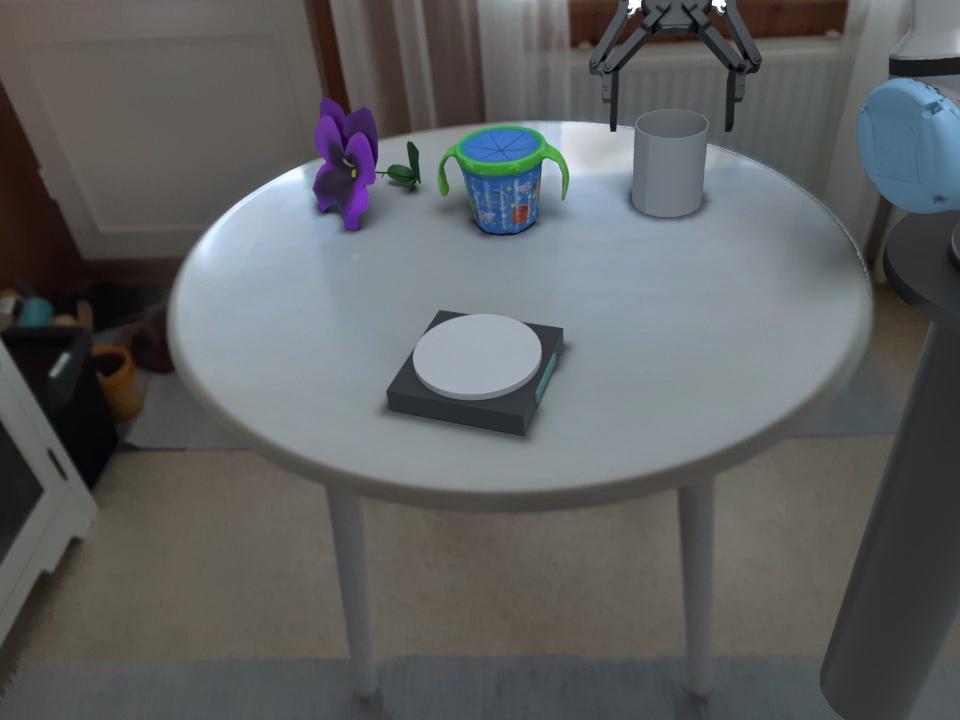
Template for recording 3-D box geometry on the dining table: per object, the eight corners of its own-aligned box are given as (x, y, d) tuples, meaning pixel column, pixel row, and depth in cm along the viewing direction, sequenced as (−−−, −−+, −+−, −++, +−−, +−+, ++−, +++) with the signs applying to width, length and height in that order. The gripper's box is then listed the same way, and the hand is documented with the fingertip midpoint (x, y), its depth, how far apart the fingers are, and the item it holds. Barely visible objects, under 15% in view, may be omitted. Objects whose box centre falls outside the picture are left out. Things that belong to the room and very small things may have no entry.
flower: (373, 209, 119) (289, 199, 110) (402, 103, 114) (316, 83, 105) (434, 247, 110) (347, 239, 100) (468, 133, 105) (380, 114, 95)
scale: (565, 347, 83) (565, 321, 81) (526, 436, 74) (524, 409, 72) (441, 328, 87) (438, 303, 85) (389, 410, 78) (384, 383, 76)
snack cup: (430, 236, 102) (420, 157, 96) (461, 195, 110) (453, 120, 103) (555, 250, 97) (553, 169, 91) (578, 207, 105) (578, 129, 99)
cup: (681, 179, 108) (687, 104, 102) (714, 208, 102) (722, 129, 96) (620, 193, 107) (623, 117, 100) (650, 223, 100) (655, 144, 94)
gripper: (779, -27, 105) (774, 139, 103) (577, -20, 109) (568, 139, 107) (790, -63, 97) (785, 115, 95) (573, -54, 102) (563, 116, 100)
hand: (670, 128), depth 101 cm, fingers open, 13 cm apart
